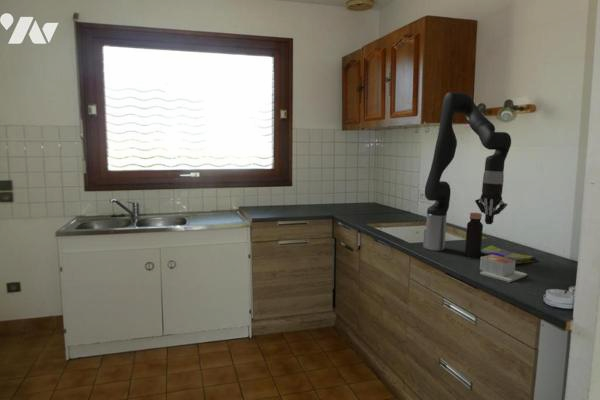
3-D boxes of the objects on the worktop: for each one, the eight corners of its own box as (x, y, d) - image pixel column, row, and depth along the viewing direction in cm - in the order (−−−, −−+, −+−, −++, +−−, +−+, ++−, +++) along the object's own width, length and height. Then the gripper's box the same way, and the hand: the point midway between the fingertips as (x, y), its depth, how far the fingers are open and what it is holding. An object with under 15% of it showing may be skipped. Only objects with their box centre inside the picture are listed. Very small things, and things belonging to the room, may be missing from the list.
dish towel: (491, 249, 214) (492, 244, 214) (539, 262, 194) (540, 256, 193) (468, 253, 206) (468, 248, 205) (515, 267, 185) (516, 261, 184)
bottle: (462, 253, 204) (466, 212, 201) (477, 253, 203) (480, 212, 200) (467, 257, 197) (470, 214, 194) (482, 257, 197) (486, 215, 194)
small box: (492, 254, 180) (516, 260, 171) (491, 267, 180) (515, 273, 172) (480, 256, 175) (504, 263, 167) (479, 269, 176) (503, 276, 167)
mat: (479, 274, 173) (480, 272, 173) (497, 268, 181) (498, 266, 181) (509, 282, 164) (509, 280, 164) (526, 275, 172) (527, 273, 172)
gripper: (472, 180, 176) (468, 222, 179) (504, 184, 166) (499, 228, 168) (482, 179, 180) (478, 220, 183) (513, 183, 170) (509, 226, 173)
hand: (488, 223), depth 176 cm, fingers closed
